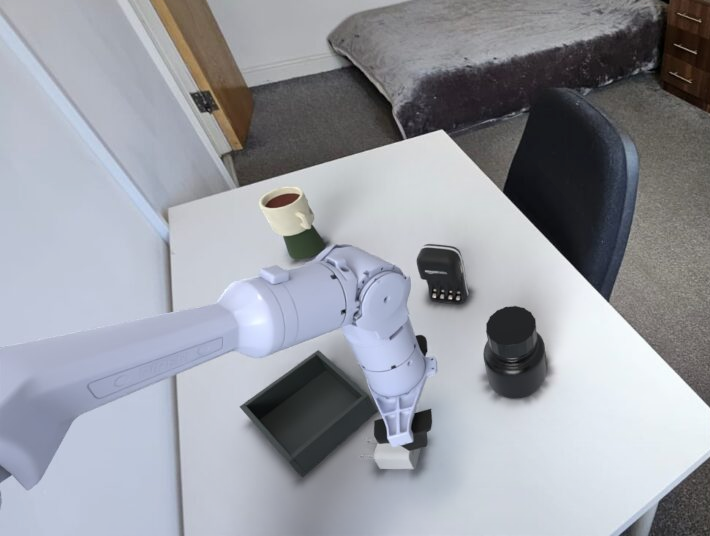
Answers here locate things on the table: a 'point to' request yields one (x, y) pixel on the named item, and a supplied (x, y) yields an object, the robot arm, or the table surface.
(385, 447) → the usb wall charger
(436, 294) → the battery charger
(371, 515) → the table surface
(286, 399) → the open storage tray
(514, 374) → the ink bottle
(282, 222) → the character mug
